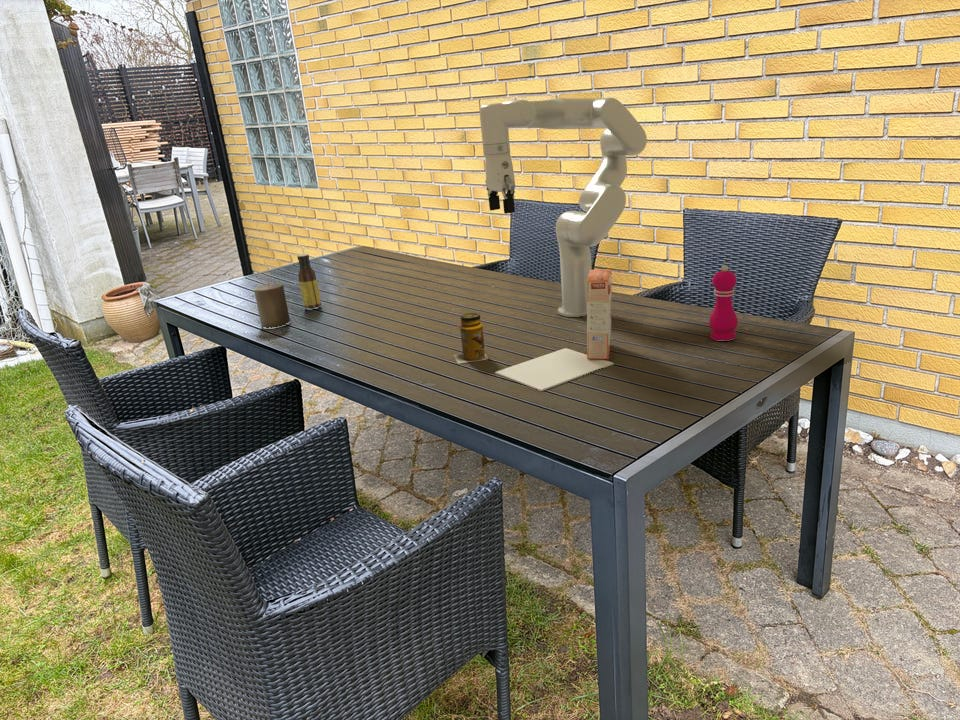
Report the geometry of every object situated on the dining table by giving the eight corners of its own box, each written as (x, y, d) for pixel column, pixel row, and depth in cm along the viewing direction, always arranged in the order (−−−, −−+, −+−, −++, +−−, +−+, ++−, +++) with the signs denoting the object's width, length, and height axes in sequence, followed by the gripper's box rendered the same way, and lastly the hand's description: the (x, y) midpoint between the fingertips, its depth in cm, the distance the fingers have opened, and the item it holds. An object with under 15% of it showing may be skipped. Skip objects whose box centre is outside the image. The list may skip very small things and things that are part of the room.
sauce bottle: (317, 305, 270) (308, 252, 264) (325, 307, 266) (316, 253, 259) (301, 309, 267) (291, 255, 260) (309, 312, 262) (299, 257, 255)
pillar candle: (296, 323, 249) (288, 280, 244) (271, 331, 242) (262, 287, 237) (280, 320, 255) (272, 278, 251) (255, 327, 249) (247, 284, 244)
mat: (565, 349, 199) (565, 348, 199) (613, 364, 185) (613, 362, 185) (495, 373, 186) (495, 372, 186) (541, 391, 172) (541, 389, 172)
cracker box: (610, 360, 187) (610, 279, 180) (586, 360, 188) (585, 280, 182) (612, 344, 200) (612, 268, 193) (589, 343, 201) (589, 268, 195)
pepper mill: (738, 335, 198) (741, 262, 191) (735, 343, 192) (737, 268, 185) (711, 333, 201) (712, 261, 194) (706, 342, 195) (708, 268, 188)
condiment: (489, 359, 197) (485, 316, 193) (458, 364, 195) (453, 321, 191) (483, 351, 204) (479, 310, 200) (453, 356, 202) (448, 314, 198)
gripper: (522, 148, 199) (527, 212, 205) (495, 147, 214) (501, 206, 220) (497, 152, 197) (503, 216, 202) (472, 151, 212) (478, 210, 217)
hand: (502, 211), depth 211 cm, fingers open, 9 cm apart
